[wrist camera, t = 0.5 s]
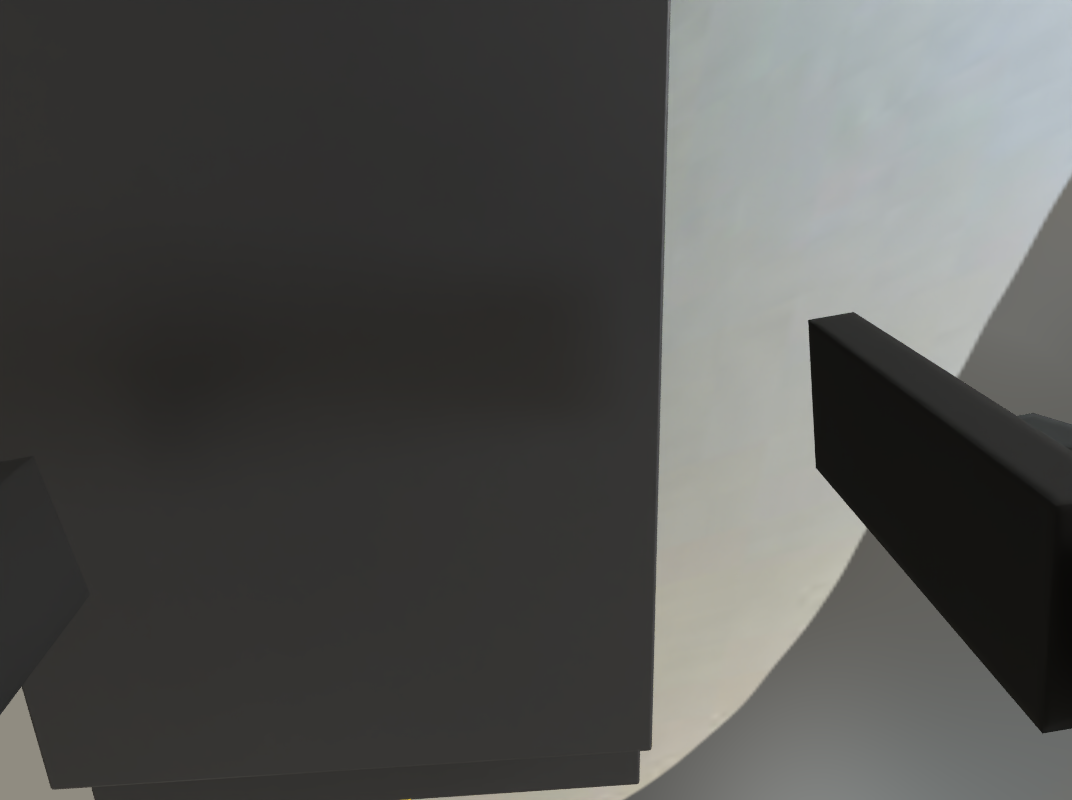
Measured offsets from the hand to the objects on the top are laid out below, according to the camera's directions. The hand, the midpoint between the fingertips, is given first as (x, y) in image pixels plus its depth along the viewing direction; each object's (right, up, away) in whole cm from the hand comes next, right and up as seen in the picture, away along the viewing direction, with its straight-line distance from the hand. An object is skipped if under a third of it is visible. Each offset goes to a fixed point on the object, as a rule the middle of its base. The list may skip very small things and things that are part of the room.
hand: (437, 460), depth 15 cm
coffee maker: (-4, +9, +30) cm, 31 cm away
